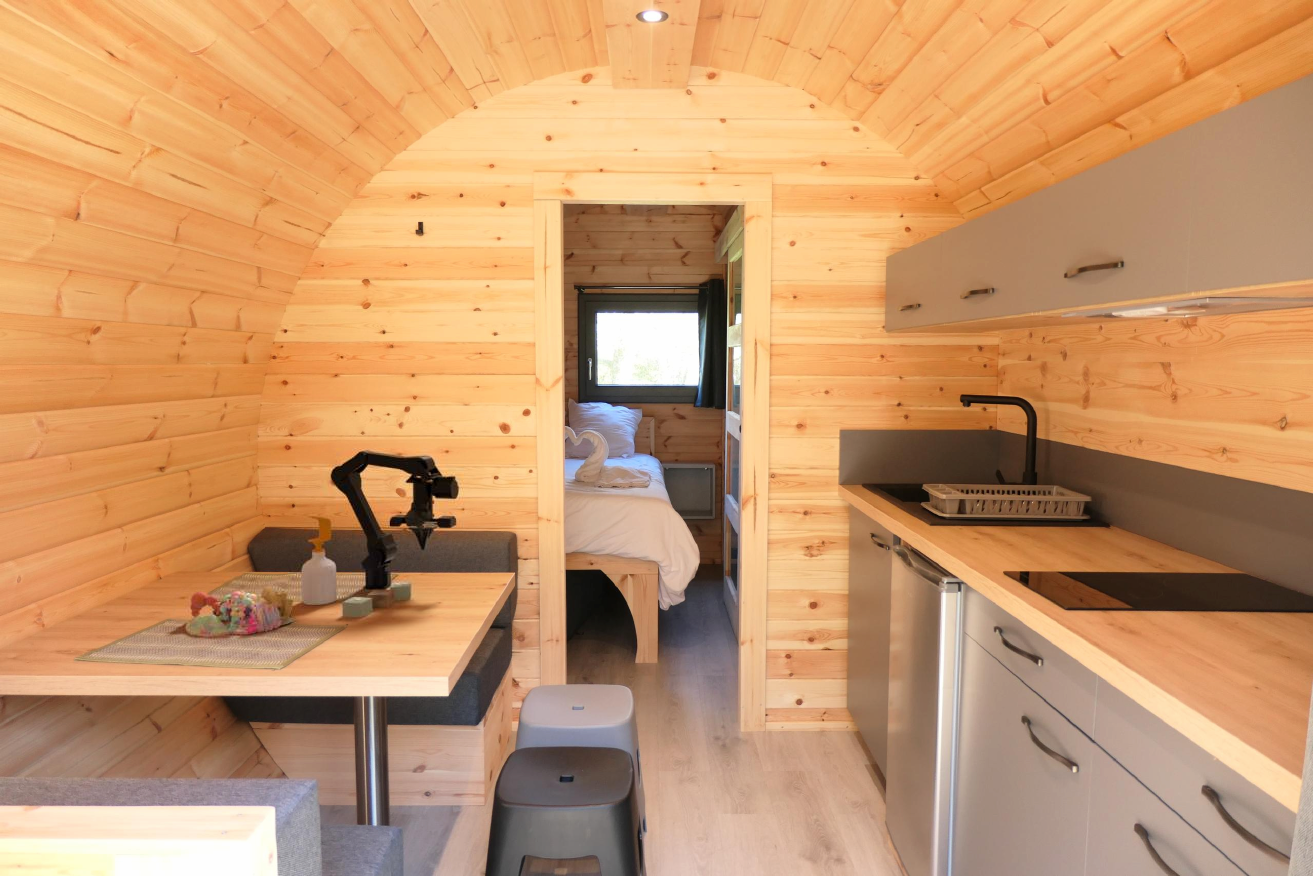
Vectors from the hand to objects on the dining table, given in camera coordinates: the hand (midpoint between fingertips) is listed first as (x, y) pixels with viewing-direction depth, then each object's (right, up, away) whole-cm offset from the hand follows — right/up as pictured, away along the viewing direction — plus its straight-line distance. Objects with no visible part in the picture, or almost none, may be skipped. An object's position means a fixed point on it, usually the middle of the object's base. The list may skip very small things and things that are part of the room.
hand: (423, 549), depth 251 cm
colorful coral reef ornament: (-37, -15, -35) cm, 53 cm away
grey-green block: (-10, -14, -26) cm, 31 cm away
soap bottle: (-26, -13, -14) cm, 32 cm away
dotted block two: (-4, -13, -9) cm, 16 cm away
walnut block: (-7, -13, -17) cm, 23 cm away
